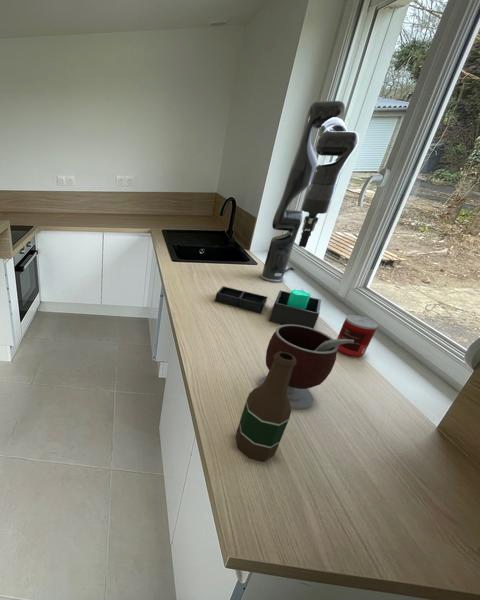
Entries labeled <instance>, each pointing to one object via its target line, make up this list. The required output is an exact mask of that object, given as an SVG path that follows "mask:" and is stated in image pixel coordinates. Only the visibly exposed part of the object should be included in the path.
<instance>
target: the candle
mask: <svg viewBox="0 0 480 600" xmlns="http://www.w3.org/2000/svg"><path fill="white" fill-rule="evenodd" d="M290 293H291V294H290V297H289V300H288V303H287V306H291V307H296V308H300V309H304V310H305V309H306V307H307V304H308V301H309V298H310V297H311V296H312V294H311V292H307V291H305V290H303V289H294V288H293V289H291V291H290Z"/></svg>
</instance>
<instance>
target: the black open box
mask: <svg viewBox="0 0 480 600" xmlns="http://www.w3.org/2000/svg"><path fill="white" fill-rule="evenodd" d="M290 294H291V291H284V290H279V291H278V293H277V296H276V298H275V300H274V303H273V306H272V309H271V313H270V315H269V319H268V322H270V323H273V324H277V325H280V326H281V325H287V324H293V325H301V326H306V327H309V328H313V329H315V326H316V323H317V320H318V318H319V315H320V311H321V306H322V305H321V303H322V299H320V298H317V297H316V298H315V297H311V296H310V298H309V301H308V304H307V307H306V309H305V310H304V309H300V308H296V307H291V306H287V303H288V300H289V297H290Z"/></svg>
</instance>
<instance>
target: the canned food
mask: <svg viewBox="0 0 480 600" xmlns="http://www.w3.org/2000/svg"><path fill="white" fill-rule="evenodd" d="M378 327H379V325H378V323H377V322H376V321H374V320H372V319H370V318H368V317H365V316H361V315H357V314H356V315H355V314H350V315H347V316H346V317H345V319H344V321H343V324H342V326H341V328H340V331H339V333H338V335H337V337H336V339H349V340H354V344H353V343H345V344H341V345H338V349H337V352H338V353H340V354H342V355H345V356H347V357H351V358H361V357H363V356H364V355H365V353H366V351H367V349H368V348H369V345H370V343H371V341H372V339H373V337H374V335H375V333H376V331H377V329H378Z"/></svg>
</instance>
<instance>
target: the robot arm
mask: <svg viewBox="0 0 480 600" xmlns="http://www.w3.org/2000/svg"><path fill="white" fill-rule="evenodd" d="M345 114H346V106H345V103H344V102H343V101H341V100H316V101H314V102H312V104H311V105H310V107H309V109H308V111H307V114H306V118H305V122H304V124H303V128H302V132H301V135H300V136H301V137H300V140H299V144H298V147H297V149H296V153H295V156H294V159H293V161H292V164H291V167H290V170H289V173H288V176H287V180H286V183H285V186H284V189H283V193H282V196H281V198H280V201H279V203H278V206H277V208H276V210H275V214H274V217H273V219H272V225H271V226H272V229H273V230H275V231H276V230H277V231H283V232H284V231H285V233H283V234H281V235H277V236H273V237H271V239H270V243H269V246H268V250H267V255H266V258H265V261H264V265H263V268H262V272H261V275H260V278H261V279H263V280H264V281H268V282H272V283H280V282H283V279H284V276H285V273H286V272H288V271H289V270H292V271H294V268H293V267H292V266H291V267H288V263H289V261H290V257H291V254H292V250H293V247H294V244H295V242H296V239H297V236H298V233H299V231H300V228H301V225H302V223H303V225H302V228H301V230H302V232H301V236H300V239H299V243H298V247H299V248H306V247H307V244H308V241H309V238H310V237H311V235H312V232H314V230H315V229H316V228H315V227H316V225H317V224H318V221H319V219H320V217H318V215H319V214H321V215H322V214H323V215H324V214H326V213H328V212H329V209H330V206H331V203H332V199H333V197H334V195H335V191H336V186H337V183H338V180H339V178H340V174H341V172H342V170H343V168H344V166H345V165H346V163H347V161H348V160H349V159H350V157H351V155H352V154H353V153H354V152H355V150H356V148H357V146H358V144H359V142H360V141H359V140H360V137H359V133H358V132H356V131H353V130H351V131H348V130H347V127H346V124H345V117H346V115H345ZM315 129H316V130H318V129H319V131H318V137H319V138H318V139H317V141H316V144H315V149H314V144H313V130H315ZM317 155H318V156H322V157H336V159H334V160H333V161H331V162H327V163H321V164H320V163H319V160H318V157H317ZM306 189H307V191H306V193H305V196H304V199H303V203H302V207H301V210H295V209H288V208H289V206H290V204H291V203H292V202H293V201H294V200H295V198H297V197H298V196H299V195H300V194H301V193H303V192H304V191H305V190H306ZM303 212H304V213H308V215H305V216H304V213H303ZM287 267H288V268H287Z"/></svg>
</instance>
